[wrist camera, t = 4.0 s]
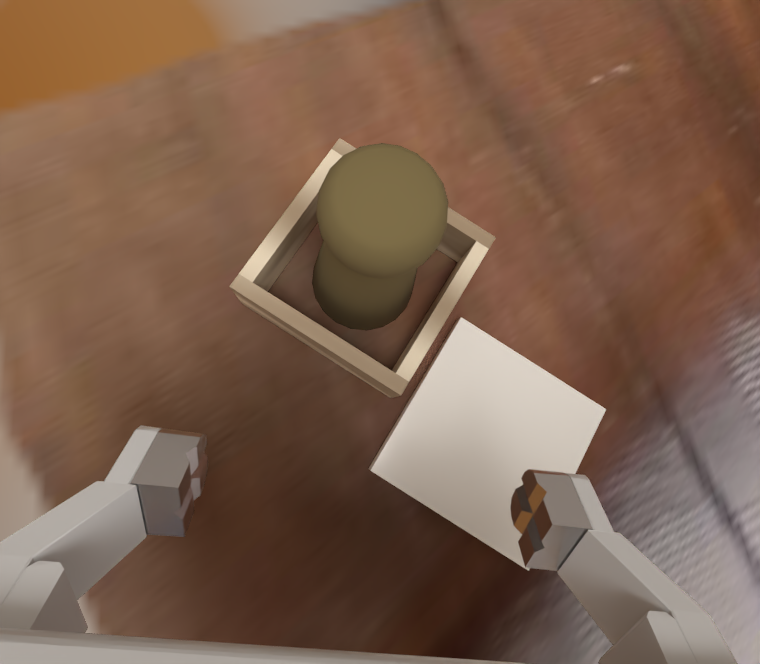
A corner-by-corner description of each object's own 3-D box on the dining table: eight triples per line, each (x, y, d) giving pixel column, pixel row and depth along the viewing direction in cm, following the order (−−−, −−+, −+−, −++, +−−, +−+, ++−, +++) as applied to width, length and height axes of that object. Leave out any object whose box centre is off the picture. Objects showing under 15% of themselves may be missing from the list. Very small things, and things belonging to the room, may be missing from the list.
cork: (309, 234, 27) (299, 114, 16) (408, 231, 28) (460, 116, 17) (314, 333, 26) (307, 274, 15) (417, 327, 27) (478, 268, 16)
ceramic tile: (456, 320, 27) (461, 317, 26) (596, 409, 27) (606, 409, 26) (368, 468, 25) (370, 470, 24) (520, 564, 25) (528, 571, 24)
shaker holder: (337, 172, 28) (339, 138, 25) (475, 259, 28) (495, 237, 25) (242, 303, 26) (229, 286, 22) (390, 398, 26) (400, 395, 22)
